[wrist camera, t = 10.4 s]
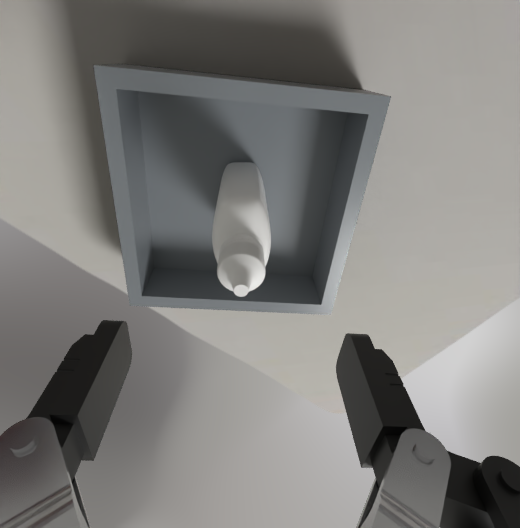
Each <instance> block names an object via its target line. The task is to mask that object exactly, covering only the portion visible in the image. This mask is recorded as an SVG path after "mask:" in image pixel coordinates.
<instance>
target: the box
mask: <svg viewBox="0 0 520 528" xmlns="http://www.w3.org/2000/svg"><path fill="white" fill-rule="evenodd" d="M93 66H94V73H95V80H96V86H97V93H98V99H99V106H100V113H101V119H102V126H103V132H104V139H105V145H106V152H107V159H108V165H109V172H110V178H111V185H112V192H113V198H114V205H115V211H116V218H117V224H118V231H119V238H120V244H121V251H122V257H123V264H124V271H125V277H126V284H127V290H128V297H129V303H130V306H148V307H170V308H191V309H213V310H235V311H256V312H278V313H300V314H321V315H331V313H332V309H333V305H334V302H335V298H336V294H337V291H338V287H339V284H340V280H341V276H342V273H343V269H344V265H345V262H346V258H347V255H348V251H349V247H350V244H351V240H352V236H353V233H354V229H355V226H356V222H357V218H358V215H359V211H360V207H361V204H362V200H363V196H364V193H365V189H366V186H367V182H368V178H369V175H370V171H371V167H372V164H373V160H374V157H375V153H376V149H377V146H378V142H379V138H380V135H381V131H382V128H383V124H384V120H385V117H386V113H387V109H388V106H389V102H390V98H391V96H387V95H383V94H379V93H375V92H371V91H366V90H361V89H352V88H343V87H333V86H324V85H315V84H305V83H296V82H287V81H278V80H268V79H259V78H250V77H240V76H231V75H222V74H212V73H203V72H194V71H184V70H175V69H166V68H156V67H147V66H138V65H128V64H109V65H93ZM233 162H251V163H254V164H255V165H256V166H257V167H258V169H259V172H260V174H261V177H262V180H263V184H264V190H265V197H266V203H267V210H268V216H269V223H270V231H271V248H270V254H269V258H268V262H267V264H266V267H265V270H266V272H265V273H266V274H265V278H264V280H263V282H262V283H261V284H260V286H258V287H257V288H256V289H254V290H252V291H249V292H248V294H247V295H246V296H243V297H239V296H237V295H235V294H234V291H231V290H229V289H227V288H226V287H225V286H223V285H222V284H221V283H220V281H219V279H218V276H217V266H218V263H217V261H216V258H215V255H214V250H213V244H212V230H213V221H214V216H215V210H216V205H217V199H218V194H219V189H220V184H221V179H222V176H223V172H224V170H225V168H226V166H227V165H228V164H229V163H233Z"/></svg>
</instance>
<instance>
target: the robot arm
mask: <svg viewBox="0 0 520 528" xmlns="http://www.w3.org/2000/svg"><path fill="white" fill-rule="evenodd" d="M131 359H132V349H131V344H130V338H129V332H128V326H127V323H126V322H125V321H108V320H103V321H102V322H101V323H100V325H99V326H98V328H97V330H96V332H95V334H94V335H87V334H85V335H84V336H83V337H81V338H80V339H79V340H78V341H77V342H76V343H74V344H73V345H72V346H71V348H70V349H69V351H68V353H67V354H66V356H65V358H64V361H62V363H61V364H60V366H59V368H58V369H57V372H55V374H54V375H53V377H52V379H51V381H50V382H49V384H48V385H47V387H46V388H45V390H44V392H43V393H42V395H41V397H40V398H39V400H38V401H37V403H36V405H35V406H34V408H33V410H32V411H31V413H30V414H29V416H28V417H27V418H26V419H25V420H22V421H20V422H18V423H16V424H14V425H13V426H11V427H10V428H8V429H7V430H6V431H5V432H4V433H3V434H2V435H1V436H0V528H91V525H90V522H89V519H88V516H87V512H86V509H85V505H84V502H83V499H82V496H81V492H80V489H79V486H78V482H77V479H76V476H75V474H76V472H77V469H78V467H79V465H80V462H81V460H92V461H93V460H94V458H95V456H96V453H97V450H98V448H99V445H100V442H101V440H102V438H103V435H104V432H105V430H106V427H107V425H108V422H109V420H110V417H111V414H112V411H113V409H114V407H115V404H116V401H117V399H118V396H119V393H120V391H121V389H122V386H123V383H124V380H125V378H126V376H127V373H128V371H129V367H130V364H131ZM336 373H337V379H338V383H339V386H340V390H341V394H342V397H343V401H344V405H345V409H346V412H347V416H348V420H349V423H350V427H351V431H352V435H353V438H354V442H355V446H356V449H357V453H358V457H359V460H360V464H361V467H362V468H373V470H374V473H375V476H376V478H375V480H374V483H373V485H372V488H371V490H370V493H369V496H368V498H367V501H366V503H365V506H364V509H363V511H362V514H361V516H360V519H359V522H358V524H357V527H356V528H439V527H440V528H520V467H519V466H518V465H516V464H515V463H513V462H511V461H510V460H508V459H505V458H502V457H499V456H489V457H487V458H485V460H483V462H482V463H478V462H476V461H473V460H470V459H468V458H465V457H462V456H459V455H456V454H453V453H451V452H449V451H447V450H446V449H445V447H444V446H443V445H442V443H441V442H440V441H439V440H438V439H437V438H435V437H434V436H433V435H431V434H430V433H428V432H426V431H425V429H424V427H423V425H422V423H421V421H420V419H419V417H418V415H417V413H416V410H415V408H414V406H413V404H412V402H411V400H410V397H409V395H408V393H407V391H406V389H405V387H403V382H402V380H401V378H400V376H398V372H397V370H396V367H395V365H394V363H393V361H392V360H391V359H390V358H389V357H388V356H387V355H386V353H385V352H384V351H383V350H382V349H375V348H374V346H373V344H372V341H371V339H370V337H369V336H368V335H367V334H346V335H345V338H344V341H343V344H342V347H341V350H340V353H339V356H338V359H337V364H336Z"/></svg>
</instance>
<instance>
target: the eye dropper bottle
mask: <svg viewBox="0 0 520 528" xmlns="http://www.w3.org/2000/svg"><path fill="white" fill-rule="evenodd" d="M212 244H213V250H214V255H215V258H216V261H217V263H218V266H217V276H218V279H219V281H220V283H221V284H222V285H223V286H225V287H226V288H227V289H229V290H231V291H234V294H235V295H237V296H239V297H243V296H246V295H247V294H248V292H249V291H252V290H254V289H256V288H257V287H258V286H260V284H261V283H262V282H263V280H264V278H265V274H266V273H265V272H266V270H265V267H266V264H267V262H268V258H269V254H270V248H271V231H270V223H269V216H268V210H267V203H266V197H265V190H264V184H263V180H262V177H261V174H260V172H259V169H258V167H257V166H256V165H255V164H254V163H251V162H233V163H229V164H228V165H227V166H226V168H225V170H224V172H223V176H222V179H221V184H220V189H219V194H218V199H217V205H216V210H215V216H214V221H213V230H212Z"/></svg>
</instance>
